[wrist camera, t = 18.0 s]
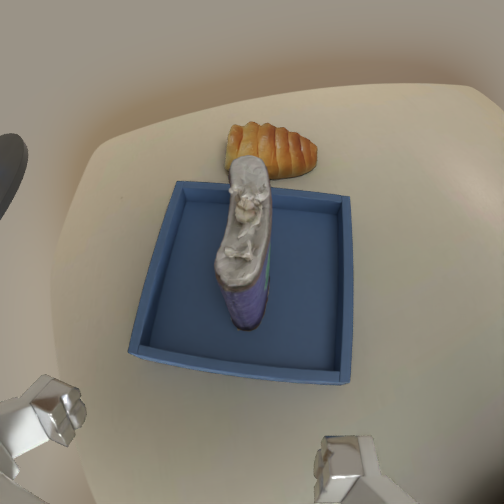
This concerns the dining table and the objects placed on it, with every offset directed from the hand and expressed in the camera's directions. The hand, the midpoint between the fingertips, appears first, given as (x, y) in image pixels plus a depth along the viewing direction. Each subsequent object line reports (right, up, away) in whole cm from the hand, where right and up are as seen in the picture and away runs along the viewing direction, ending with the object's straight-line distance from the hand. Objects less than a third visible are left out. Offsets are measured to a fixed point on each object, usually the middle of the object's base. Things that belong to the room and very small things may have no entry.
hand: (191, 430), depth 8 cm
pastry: (+3, +15, +23) cm, 28 cm away
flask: (+2, +3, +17) cm, 17 cm away
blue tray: (+2, +3, +17) cm, 17 cm away
